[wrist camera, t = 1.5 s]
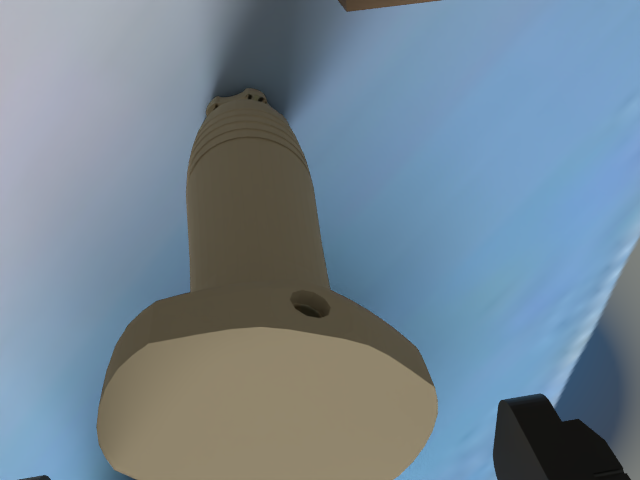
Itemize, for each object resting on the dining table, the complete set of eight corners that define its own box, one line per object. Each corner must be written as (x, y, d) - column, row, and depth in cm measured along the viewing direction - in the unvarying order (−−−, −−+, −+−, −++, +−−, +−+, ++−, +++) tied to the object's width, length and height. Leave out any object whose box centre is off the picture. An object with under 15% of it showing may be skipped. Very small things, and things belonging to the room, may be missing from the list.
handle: (174, 39, 22) (123, 301, 9) (339, 89, 24) (477, 361, 11) (148, 158, 24) (78, 493, 12) (300, 195, 26) (379, 517, 14)
